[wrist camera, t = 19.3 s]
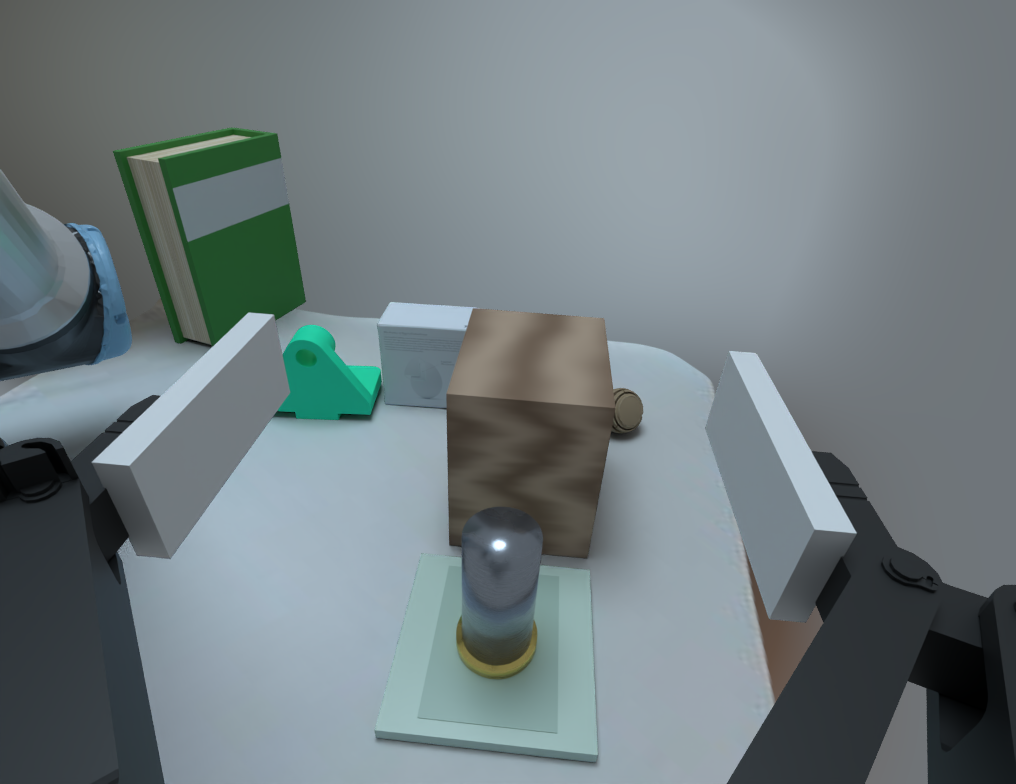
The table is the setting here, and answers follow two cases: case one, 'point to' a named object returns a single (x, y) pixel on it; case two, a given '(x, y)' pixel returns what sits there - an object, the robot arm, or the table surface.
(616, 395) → the door knob
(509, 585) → the grey glass cylinder
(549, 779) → the table surface
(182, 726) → the table surface
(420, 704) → the pad
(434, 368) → the skincare box
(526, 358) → the block
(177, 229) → the hardback book
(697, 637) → the table surface
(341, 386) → the camera mount
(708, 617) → the table surface
